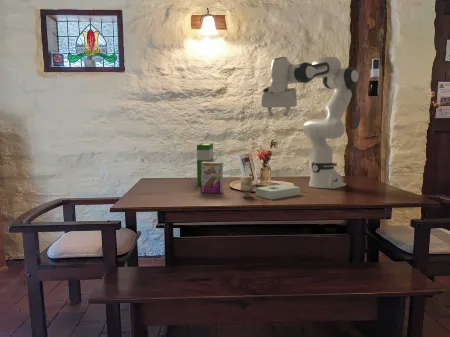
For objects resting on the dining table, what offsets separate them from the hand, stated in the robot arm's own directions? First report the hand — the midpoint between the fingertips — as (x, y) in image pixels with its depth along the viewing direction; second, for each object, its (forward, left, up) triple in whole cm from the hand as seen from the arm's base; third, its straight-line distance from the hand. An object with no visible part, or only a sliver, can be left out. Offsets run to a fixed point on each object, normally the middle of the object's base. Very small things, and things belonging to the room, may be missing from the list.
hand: (278, 116), depth 199 cm
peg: (+19, -2, -41) cm, 45 cm away
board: (+4, +5, -41) cm, 41 cm away
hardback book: (+14, -50, -41) cm, 66 cm away
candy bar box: (+28, -21, -41) cm, 54 cm away
